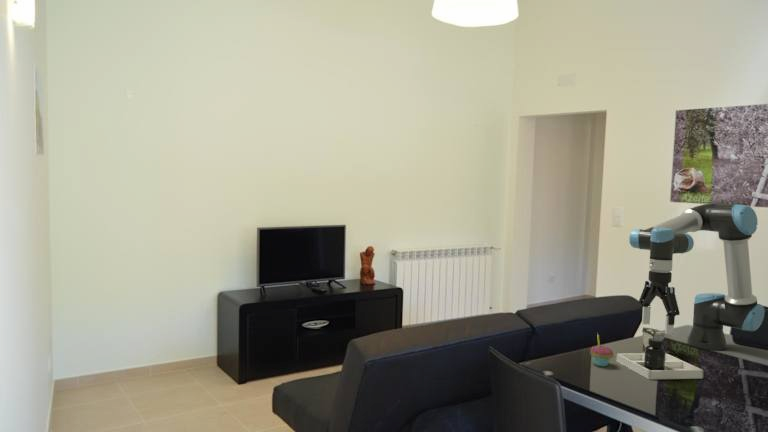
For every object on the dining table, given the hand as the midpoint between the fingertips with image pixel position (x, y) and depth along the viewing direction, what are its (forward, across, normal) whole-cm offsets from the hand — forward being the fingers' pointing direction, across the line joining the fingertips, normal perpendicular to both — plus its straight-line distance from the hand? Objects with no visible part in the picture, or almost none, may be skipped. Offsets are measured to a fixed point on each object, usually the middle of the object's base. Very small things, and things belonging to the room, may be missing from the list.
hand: (657, 328), depth 215 cm
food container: (+17, -23, +16) cm, 33 cm away
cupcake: (+17, -12, -14) cm, 25 cm away
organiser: (+17, -5, +5) cm, 18 cm away
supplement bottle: (+16, 0, 0) cm, 16 cm away
